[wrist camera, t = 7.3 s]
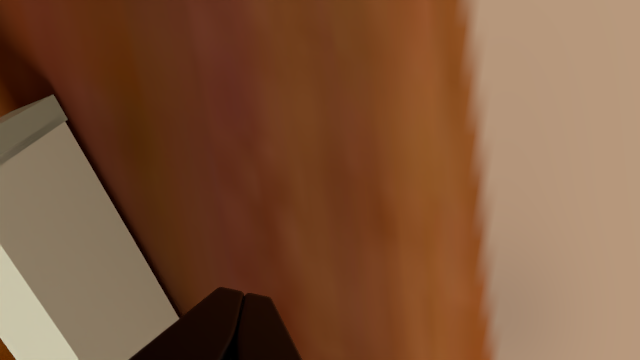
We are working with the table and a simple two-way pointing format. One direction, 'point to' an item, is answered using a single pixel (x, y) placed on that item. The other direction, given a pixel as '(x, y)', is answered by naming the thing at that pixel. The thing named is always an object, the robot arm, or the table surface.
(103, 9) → the table surface
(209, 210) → the table surface
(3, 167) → the off-white flat block
